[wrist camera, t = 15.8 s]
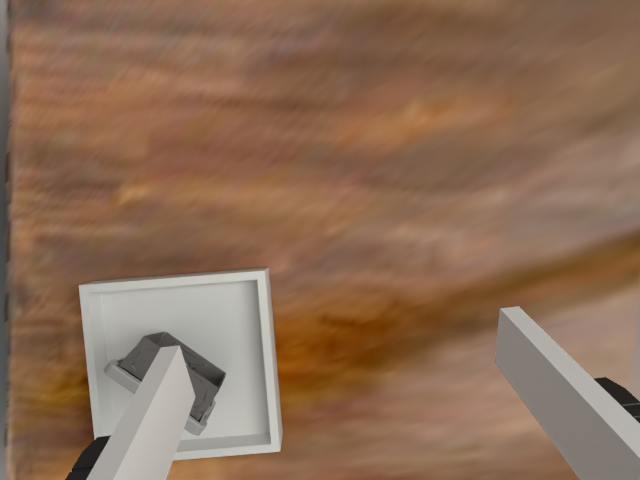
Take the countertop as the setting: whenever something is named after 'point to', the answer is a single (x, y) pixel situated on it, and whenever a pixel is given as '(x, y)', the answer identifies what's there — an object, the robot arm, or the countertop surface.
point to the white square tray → (202, 337)
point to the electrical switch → (202, 378)
